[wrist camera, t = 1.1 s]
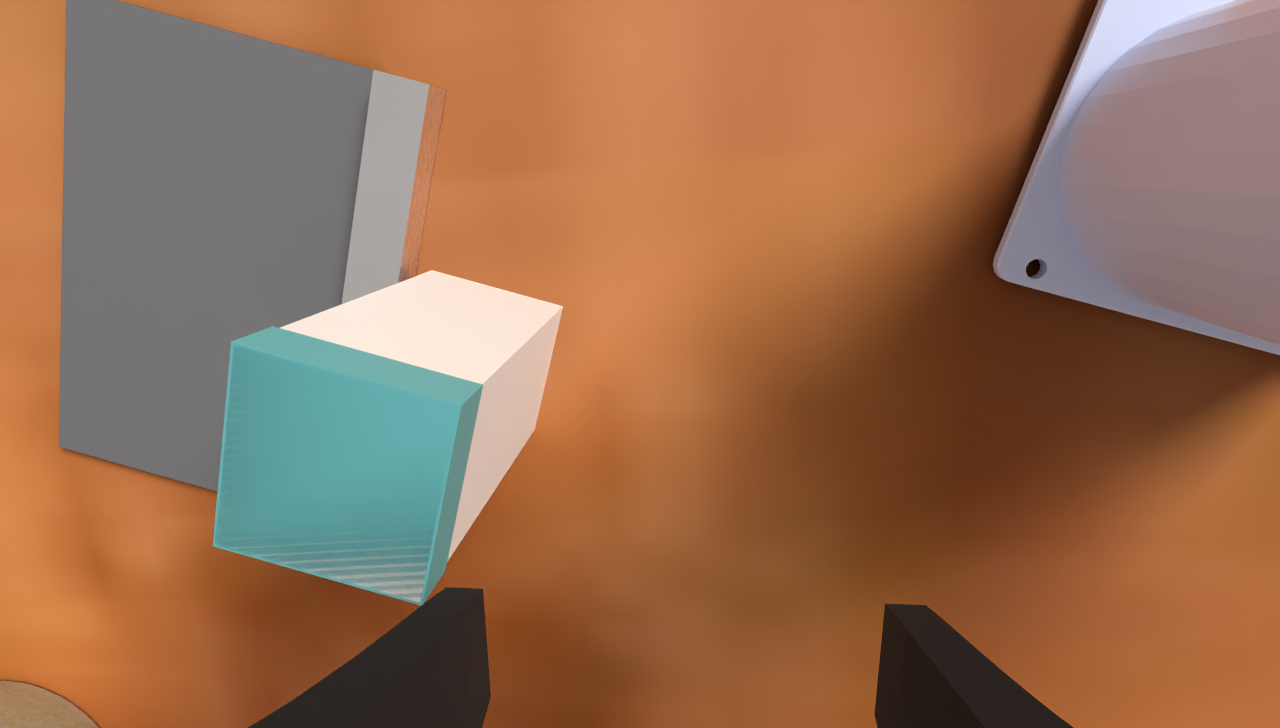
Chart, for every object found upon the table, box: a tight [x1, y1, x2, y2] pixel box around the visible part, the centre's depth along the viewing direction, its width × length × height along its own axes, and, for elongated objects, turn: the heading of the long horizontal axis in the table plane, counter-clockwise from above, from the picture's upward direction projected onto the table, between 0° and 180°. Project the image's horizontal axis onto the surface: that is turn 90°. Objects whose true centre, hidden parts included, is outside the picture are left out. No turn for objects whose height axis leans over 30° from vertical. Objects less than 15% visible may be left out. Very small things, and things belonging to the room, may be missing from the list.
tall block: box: [213, 270, 563, 606], centre depth 17 cm, size 4×4×9 cm
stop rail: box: [342, 70, 446, 304], centre depth 21 cm, size 2×14×1 cm, turn 166°
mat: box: [59, 0, 373, 492], centre depth 21 cm, size 9×14×1 cm, turn 165°
